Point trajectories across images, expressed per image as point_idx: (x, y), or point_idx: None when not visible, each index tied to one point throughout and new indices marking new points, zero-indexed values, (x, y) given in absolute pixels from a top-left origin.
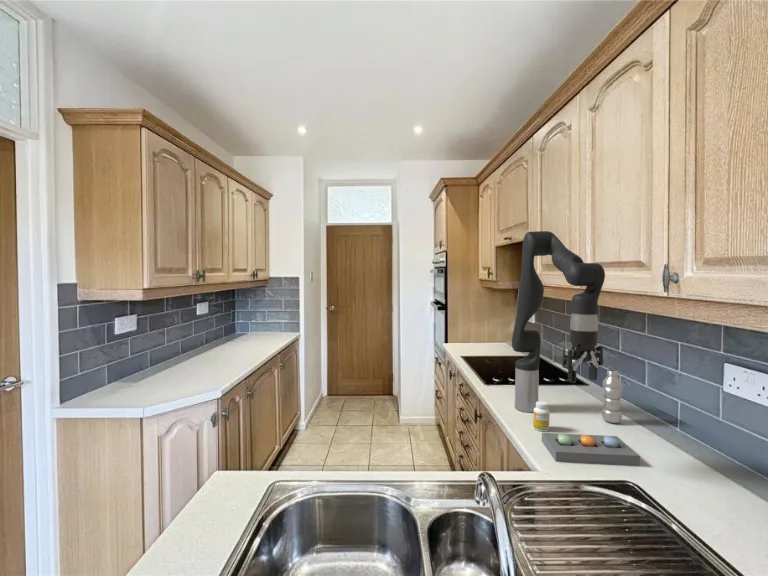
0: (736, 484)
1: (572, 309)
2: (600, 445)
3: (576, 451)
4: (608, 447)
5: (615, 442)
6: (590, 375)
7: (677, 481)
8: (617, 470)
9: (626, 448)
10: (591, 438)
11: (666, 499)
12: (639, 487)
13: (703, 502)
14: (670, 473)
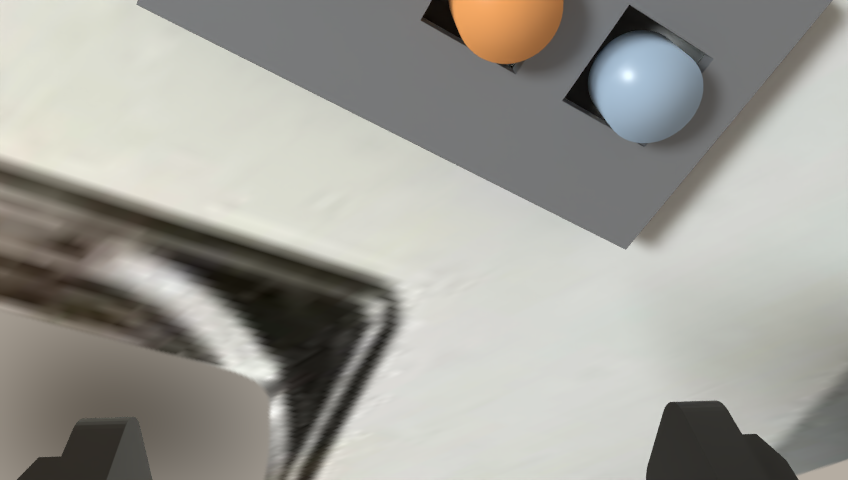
0: (779, 433)
1: None
2: (556, 59)
3: (298, 63)
4: (589, 90)
5: (627, 137)
6: (693, 473)
7: (599, 358)
8: (443, 208)
9: (664, 159)
10: (515, 38)
11: (399, 418)
12: (385, 339)
13: (510, 462)
14: (656, 310)
